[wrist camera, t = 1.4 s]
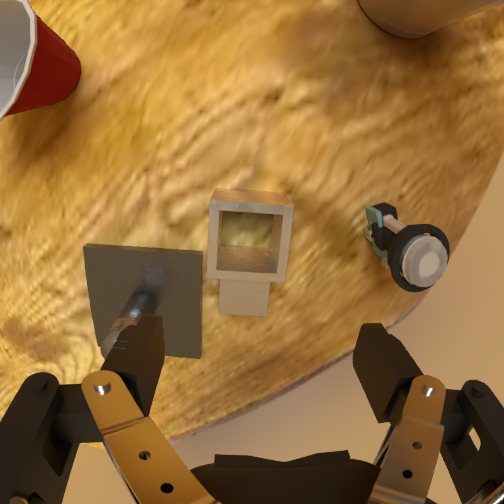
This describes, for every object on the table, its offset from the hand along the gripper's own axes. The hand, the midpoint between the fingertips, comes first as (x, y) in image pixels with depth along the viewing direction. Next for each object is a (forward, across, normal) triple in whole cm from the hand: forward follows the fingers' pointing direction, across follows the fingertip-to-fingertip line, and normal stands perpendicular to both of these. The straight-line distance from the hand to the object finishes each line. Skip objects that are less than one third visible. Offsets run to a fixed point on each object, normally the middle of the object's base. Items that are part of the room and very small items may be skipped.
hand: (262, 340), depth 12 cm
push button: (+18, -13, 0) cm, 22 cm away
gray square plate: (+18, +10, +9) cm, 23 cm away
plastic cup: (+18, +20, -14) cm, 31 cm away
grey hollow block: (+18, 0, +2) cm, 18 cm away
